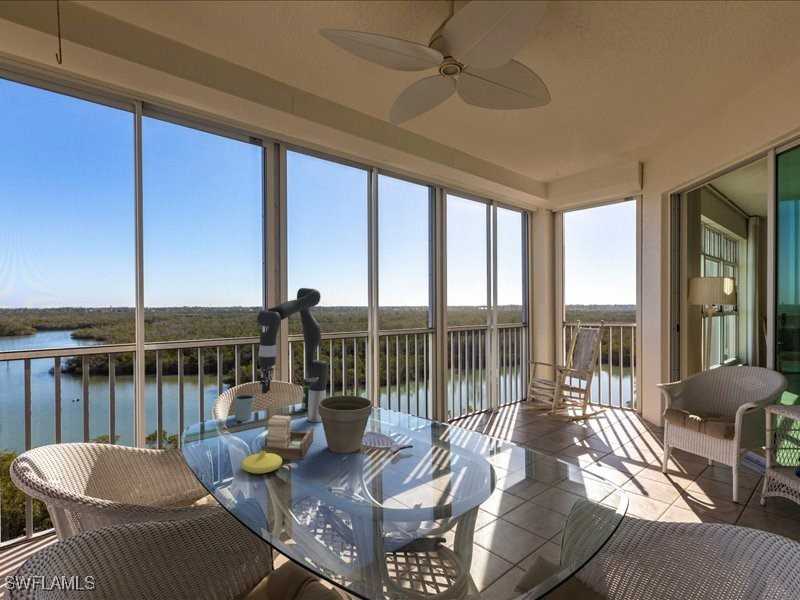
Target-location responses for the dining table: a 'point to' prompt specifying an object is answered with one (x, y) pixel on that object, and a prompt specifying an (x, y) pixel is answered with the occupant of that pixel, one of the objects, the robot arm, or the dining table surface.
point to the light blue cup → (243, 407)
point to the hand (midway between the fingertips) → (265, 391)
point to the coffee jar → (306, 391)
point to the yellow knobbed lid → (261, 462)
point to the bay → (293, 445)
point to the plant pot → (344, 421)
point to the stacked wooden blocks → (279, 431)
